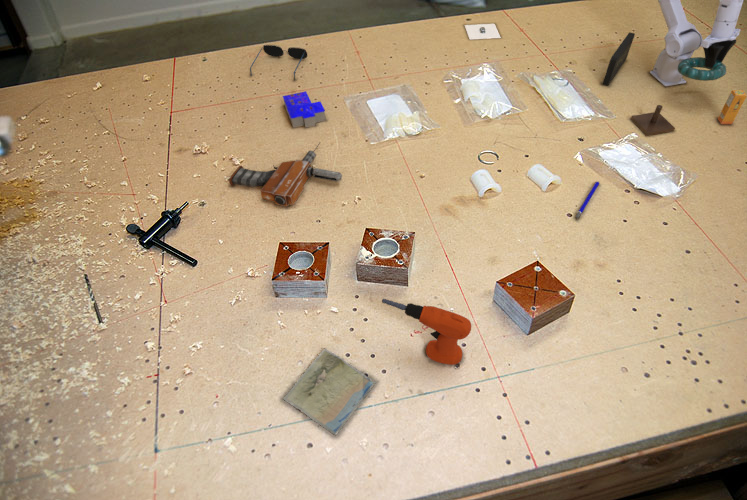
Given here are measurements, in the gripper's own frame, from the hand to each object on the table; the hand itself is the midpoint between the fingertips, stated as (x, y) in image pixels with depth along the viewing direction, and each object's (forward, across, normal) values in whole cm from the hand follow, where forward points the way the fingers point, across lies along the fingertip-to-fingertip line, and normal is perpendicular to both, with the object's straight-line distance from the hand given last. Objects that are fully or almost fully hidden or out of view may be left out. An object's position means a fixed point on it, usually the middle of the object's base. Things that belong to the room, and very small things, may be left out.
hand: (712, 65), depth 162 cm
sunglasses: (-5, -110, +92) cm, 143 cm away
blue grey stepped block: (+1, -114, +60) cm, 129 cm away
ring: (0, -5, 0) cm, 5 cm away
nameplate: (+6, -11, +26) cm, 29 cm away
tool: (+5, -129, +35) cm, 134 cm away
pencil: (+14, -66, -16) cm, 69 cm away
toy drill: (+18, -128, -31) cm, 133 cm away
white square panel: (-2, -31, +74) cm, 81 cm away
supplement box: (+13, -5, -11) cm, 18 cm away
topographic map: (+18, -150, -30) cm, 154 cm away
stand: (+11, -25, -1) cm, 28 cm away
